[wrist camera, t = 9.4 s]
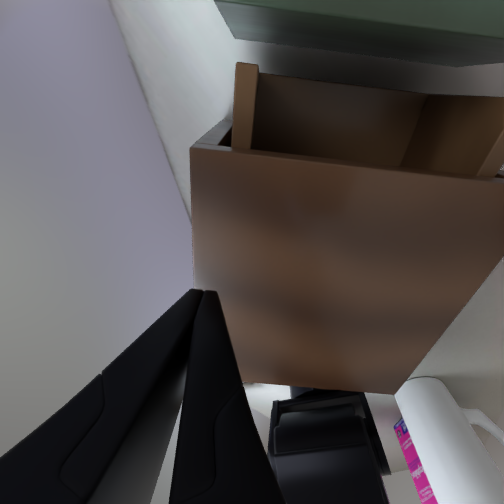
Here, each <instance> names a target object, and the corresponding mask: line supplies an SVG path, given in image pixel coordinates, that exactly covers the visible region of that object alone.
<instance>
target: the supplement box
mask: <svg viewBox="0 0 504 504" xmlns="http://www.w3.org/2000/svg"><path fill="white" fill-rule="evenodd" d="M394 429H395V432H396V434H397V437H398V440H399V443H400V445H401V448H402V451H403V454H404V456H405V459H406V462H407V464H408V467H409V470H410V473H411V475H412V478H413V481H414V483H415V486H416V489H417V492H418V494H419V497H420V500H421V503H422V504H438V502H437V500H436V498H435V495H434V493H433V490H432V488H431V485H430V483H429V481H428V478H427V476H426V473H425V471H424V468H423V466H422V463H421V461H420V458H419V456H418V453H417V451H416V448H415V446H414V444H413V441H412V439H411V436H410V434H409V431H408V429H407V426H406V424H405V422H404V419H403V418H402V419H401V420H400V421H399V422H398V423H397V424H396V425H395V426H394Z"/></svg>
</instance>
